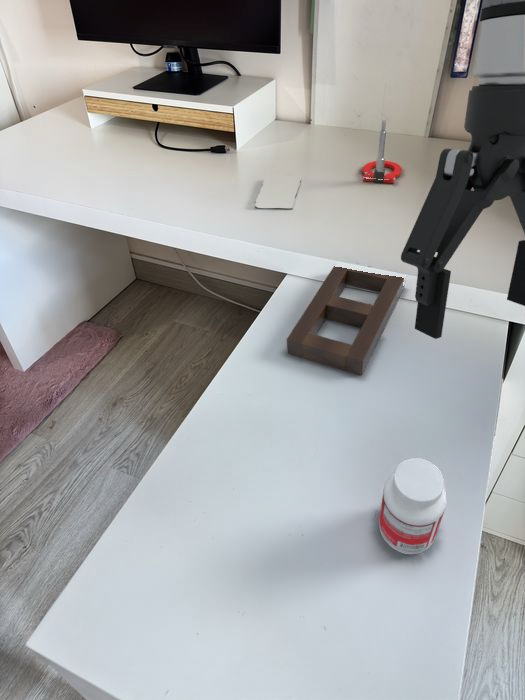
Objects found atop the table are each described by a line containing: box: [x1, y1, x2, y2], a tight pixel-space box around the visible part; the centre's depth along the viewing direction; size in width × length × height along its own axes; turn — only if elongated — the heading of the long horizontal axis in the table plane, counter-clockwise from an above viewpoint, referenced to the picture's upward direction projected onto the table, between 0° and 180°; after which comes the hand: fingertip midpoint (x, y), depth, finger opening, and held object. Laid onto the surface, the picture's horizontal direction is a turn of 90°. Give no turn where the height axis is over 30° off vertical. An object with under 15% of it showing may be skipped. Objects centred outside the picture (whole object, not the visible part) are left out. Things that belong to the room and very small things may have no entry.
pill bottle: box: [378, 457, 448, 555], centre depth 52 cm, size 6×6×11 cm
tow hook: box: [362, 119, 402, 184], centre depth 108 cm, size 8×13×9 cm
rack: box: [286, 265, 406, 376], centre depth 80 cm, size 12×21×3 cm, turn 152°
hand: (476, 317), depth 51 cm, fingers open, 13 cm apart
